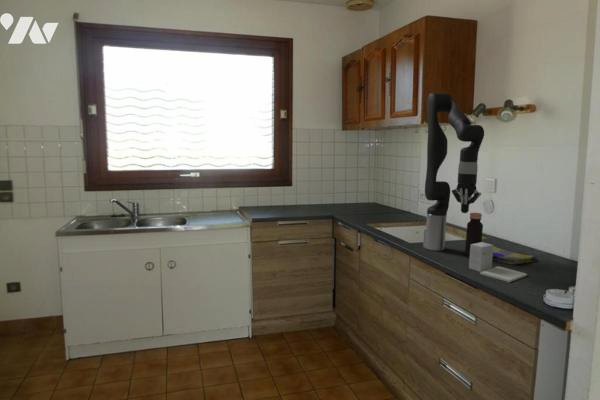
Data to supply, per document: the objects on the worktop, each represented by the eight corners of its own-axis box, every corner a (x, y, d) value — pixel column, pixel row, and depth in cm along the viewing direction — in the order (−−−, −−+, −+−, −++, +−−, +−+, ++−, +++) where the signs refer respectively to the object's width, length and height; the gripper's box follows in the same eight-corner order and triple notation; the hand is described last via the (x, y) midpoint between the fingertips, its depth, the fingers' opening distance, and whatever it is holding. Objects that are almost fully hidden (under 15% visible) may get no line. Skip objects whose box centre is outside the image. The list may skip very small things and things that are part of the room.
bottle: (462, 253, 204) (466, 212, 201) (477, 253, 203) (480, 212, 200) (467, 257, 197) (470, 214, 194) (482, 257, 197) (486, 215, 194)
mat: (479, 274, 173) (480, 272, 173) (497, 268, 181) (498, 266, 181) (509, 282, 164) (509, 280, 164) (526, 275, 172) (527, 273, 172)
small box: (480, 265, 185) (482, 241, 183) (491, 269, 180) (493, 244, 179) (468, 268, 181) (470, 244, 179) (480, 271, 176) (482, 247, 174)
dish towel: (491, 249, 215) (492, 243, 214) (539, 261, 194) (540, 255, 194) (468, 253, 206) (469, 248, 205) (516, 267, 185) (517, 261, 185)
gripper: (448, 171, 185) (445, 211, 187) (477, 174, 174) (474, 216, 177) (458, 171, 189) (455, 209, 192) (487, 173, 179) (483, 214, 181)
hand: (464, 212), depth 184 cm, fingers closed
